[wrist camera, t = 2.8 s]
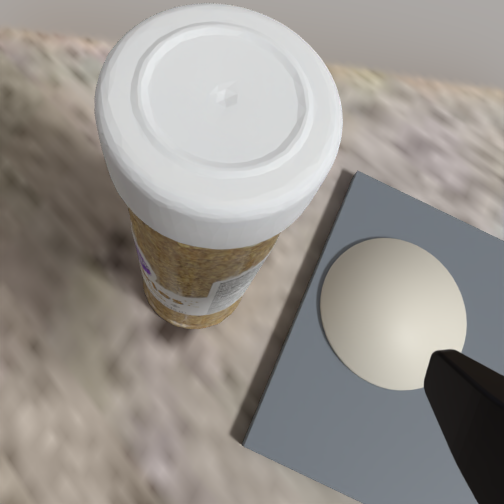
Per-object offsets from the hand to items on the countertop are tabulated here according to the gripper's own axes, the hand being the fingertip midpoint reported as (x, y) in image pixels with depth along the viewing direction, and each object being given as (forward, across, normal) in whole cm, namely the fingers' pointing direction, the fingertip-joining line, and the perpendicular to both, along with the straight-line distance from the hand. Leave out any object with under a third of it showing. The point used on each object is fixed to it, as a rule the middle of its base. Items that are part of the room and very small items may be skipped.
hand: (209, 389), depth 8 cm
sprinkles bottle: (+12, 0, +5) cm, 13 cm away
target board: (+8, -11, +7) cm, 15 cm away
